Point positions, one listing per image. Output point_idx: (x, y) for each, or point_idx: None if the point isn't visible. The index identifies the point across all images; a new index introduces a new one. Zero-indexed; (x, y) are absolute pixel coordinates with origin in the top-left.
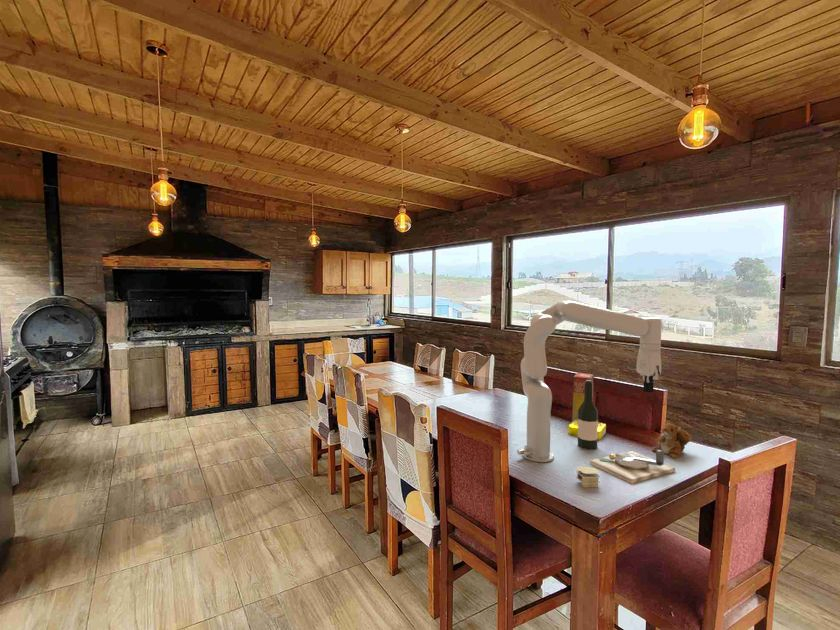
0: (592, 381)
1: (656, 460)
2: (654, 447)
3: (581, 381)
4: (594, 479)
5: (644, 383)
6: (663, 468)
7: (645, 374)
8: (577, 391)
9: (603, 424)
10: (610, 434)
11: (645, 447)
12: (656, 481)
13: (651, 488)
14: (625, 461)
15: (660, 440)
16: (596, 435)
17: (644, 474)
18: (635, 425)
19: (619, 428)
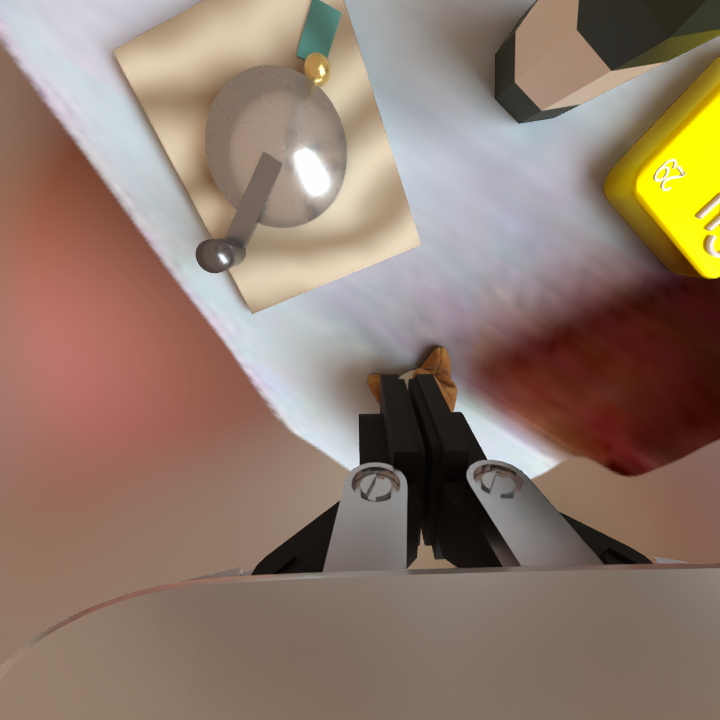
0: None
1: (225, 237)
2: (439, 355)
3: None
4: None
5: (437, 434)
6: (243, 267)
7: (298, 590)
8: None
9: (711, 265)
10: (643, 280)
11: (476, 340)
12: (163, 188)
13: (94, 125)
14: (235, 93)
15: (413, 373)
16: (532, 81)
17: (176, 150)
18: (692, 434)
19: (690, 357)
